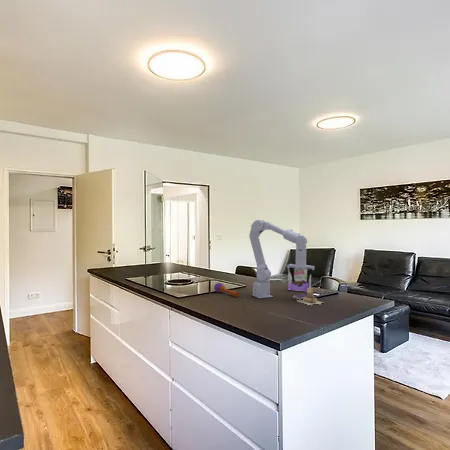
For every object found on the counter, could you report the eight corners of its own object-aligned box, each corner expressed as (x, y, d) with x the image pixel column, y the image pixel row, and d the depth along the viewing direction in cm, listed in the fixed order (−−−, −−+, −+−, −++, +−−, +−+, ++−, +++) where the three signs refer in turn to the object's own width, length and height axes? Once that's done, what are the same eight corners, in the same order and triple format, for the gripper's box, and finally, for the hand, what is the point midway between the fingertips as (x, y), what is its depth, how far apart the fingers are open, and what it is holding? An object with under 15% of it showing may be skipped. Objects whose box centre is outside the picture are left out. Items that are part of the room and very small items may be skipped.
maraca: (232, 291, 180) (211, 283, 195) (233, 301, 181) (212, 292, 196) (240, 288, 183) (219, 280, 199) (241, 298, 184) (220, 289, 200)
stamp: (309, 302, 168) (309, 289, 168) (303, 300, 172) (303, 287, 172) (316, 302, 170) (317, 288, 170) (310, 300, 174) (310, 287, 174)
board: (308, 305, 164) (308, 304, 164) (296, 301, 173) (296, 300, 173) (323, 303, 168) (323, 302, 168) (311, 299, 177) (311, 298, 177)
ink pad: (299, 299, 177) (299, 297, 177) (292, 297, 183) (292, 295, 183) (311, 298, 181) (311, 296, 181) (304, 296, 186) (304, 294, 186)
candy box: (287, 290, 204) (287, 264, 204) (289, 289, 209) (290, 263, 209) (309, 293, 197) (309, 266, 197) (311, 291, 202) (311, 265, 203)
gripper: (286, 257, 176) (286, 282, 176) (313, 258, 171) (313, 284, 171) (288, 256, 183) (288, 280, 183) (315, 257, 178) (314, 282, 178)
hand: (300, 282), depth 177 cm, fingers open, 7 cm apart
